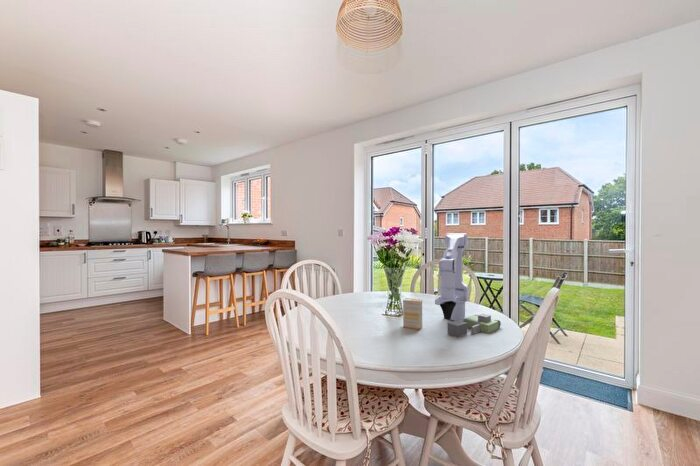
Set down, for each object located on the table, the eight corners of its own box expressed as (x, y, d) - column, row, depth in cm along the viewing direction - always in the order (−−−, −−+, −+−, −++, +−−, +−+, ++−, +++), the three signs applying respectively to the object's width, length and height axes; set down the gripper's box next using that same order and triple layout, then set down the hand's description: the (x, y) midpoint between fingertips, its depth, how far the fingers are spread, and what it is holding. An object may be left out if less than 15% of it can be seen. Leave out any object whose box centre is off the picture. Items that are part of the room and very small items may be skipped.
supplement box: (422, 326, 144) (422, 298, 144) (420, 330, 140) (420, 301, 140) (405, 324, 148) (405, 297, 148) (402, 327, 144) (402, 299, 143)
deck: (455, 328, 142) (455, 315, 141) (475, 321, 152) (475, 309, 152) (480, 336, 132) (481, 322, 132) (501, 327, 143) (501, 315, 142)
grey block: (447, 334, 135) (447, 322, 135) (457, 330, 139) (457, 319, 139) (457, 337, 131) (457, 325, 131) (467, 334, 135) (467, 322, 135)
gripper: (445, 290, 122) (445, 324, 123) (465, 286, 131) (465, 318, 131) (430, 288, 128) (430, 320, 128) (451, 283, 137) (451, 314, 137)
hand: (447, 319), depth 130 cm, fingers closed
